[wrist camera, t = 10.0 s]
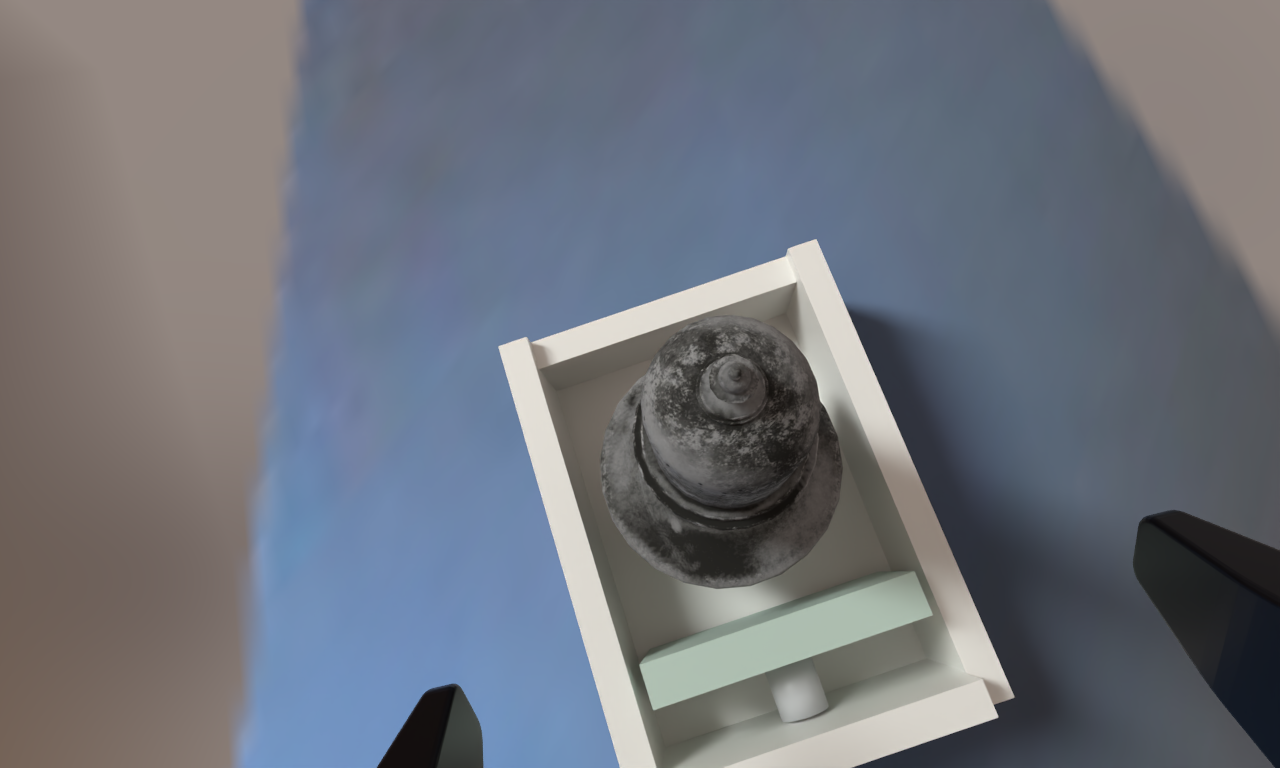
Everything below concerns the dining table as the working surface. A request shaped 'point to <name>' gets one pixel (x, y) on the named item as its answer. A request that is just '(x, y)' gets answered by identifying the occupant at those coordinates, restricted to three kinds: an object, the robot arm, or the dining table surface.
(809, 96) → the dining table surface
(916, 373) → the dining table surface
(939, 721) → the box
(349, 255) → the dining table surface
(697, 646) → the bar
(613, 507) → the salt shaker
